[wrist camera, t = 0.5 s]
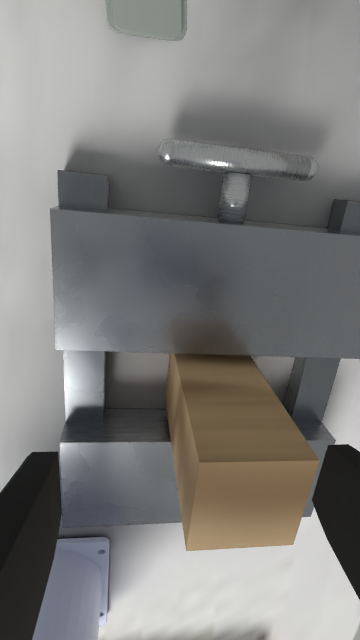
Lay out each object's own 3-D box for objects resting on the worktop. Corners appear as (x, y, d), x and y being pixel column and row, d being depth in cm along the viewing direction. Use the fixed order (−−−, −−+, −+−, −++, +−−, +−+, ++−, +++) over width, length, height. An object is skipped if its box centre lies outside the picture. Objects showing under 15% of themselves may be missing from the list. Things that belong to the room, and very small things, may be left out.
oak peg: (230, 401, 21) (293, 544, 13) (165, 400, 20) (186, 550, 12) (241, 341, 19) (319, 460, 11) (171, 339, 19) (199, 462, 11)
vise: (287, 495, 25) (305, 532, 22) (71, 502, 22) (63, 544, 20) (380, 168, 17) (425, 166, 14) (62, 130, 15) (46, 118, 12)
